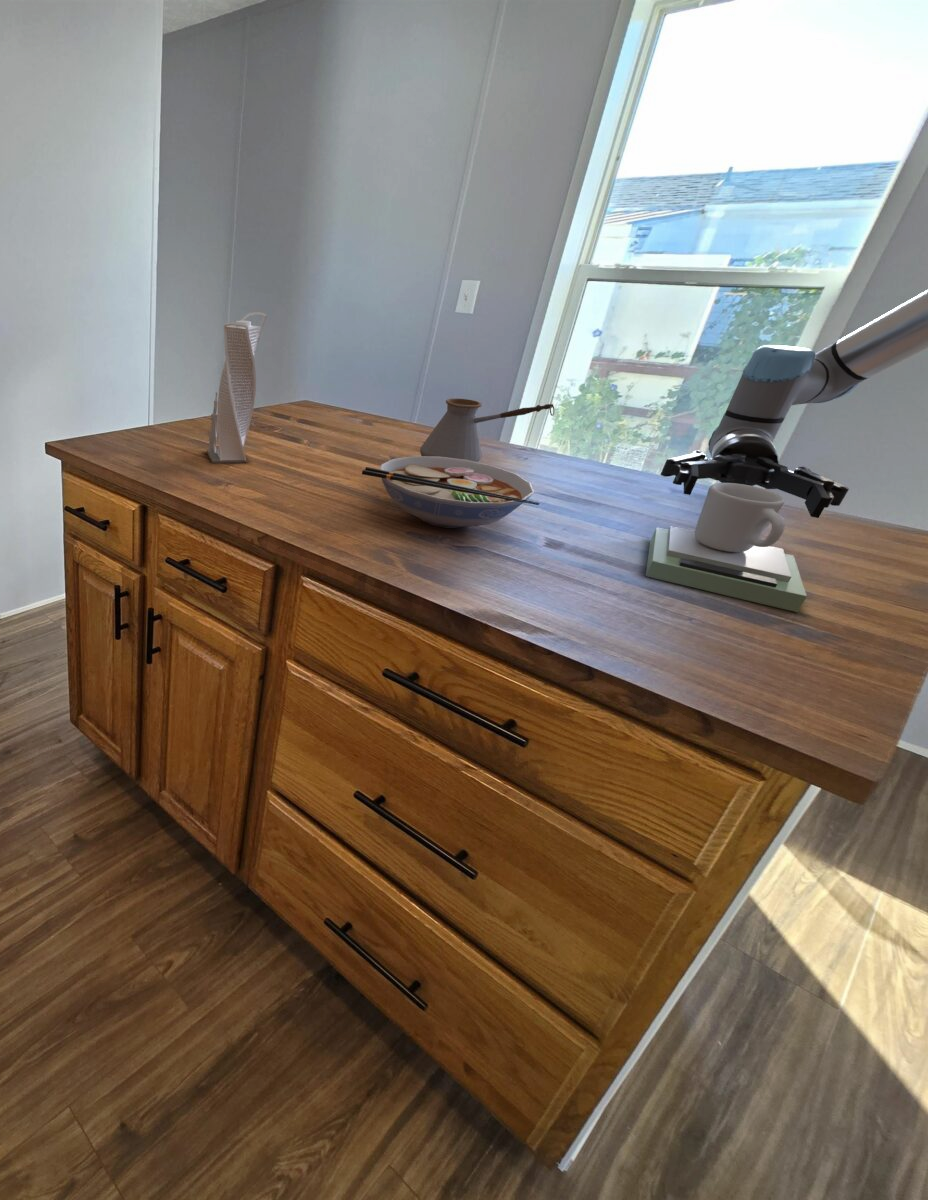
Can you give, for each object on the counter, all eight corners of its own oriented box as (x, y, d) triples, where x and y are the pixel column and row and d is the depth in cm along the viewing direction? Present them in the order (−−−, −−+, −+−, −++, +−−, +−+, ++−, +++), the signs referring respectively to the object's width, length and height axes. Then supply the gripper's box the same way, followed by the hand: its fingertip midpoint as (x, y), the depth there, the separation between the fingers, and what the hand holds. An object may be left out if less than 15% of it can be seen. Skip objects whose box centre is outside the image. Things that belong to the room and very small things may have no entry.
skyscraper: (245, 452, 140) (260, 309, 126) (254, 464, 133) (271, 314, 119) (206, 452, 139) (217, 309, 125) (213, 464, 132) (225, 314, 118)
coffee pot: (407, 465, 133) (425, 390, 125) (430, 454, 140) (448, 381, 133) (520, 492, 120) (547, 410, 113) (538, 478, 127) (565, 399, 120)
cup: (790, 567, 87) (822, 511, 83) (731, 566, 87) (761, 510, 83) (725, 534, 96) (751, 482, 92) (672, 533, 96) (696, 481, 92)
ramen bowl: (534, 515, 111) (550, 468, 107) (518, 564, 94) (536, 511, 90) (384, 485, 122) (393, 442, 118) (346, 524, 106) (355, 476, 102)
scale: (785, 570, 93) (796, 550, 92) (797, 612, 83) (810, 590, 81) (650, 541, 102) (658, 522, 100) (645, 576, 91) (654, 555, 90)
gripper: (836, 498, 99) (863, 545, 84) (639, 466, 112) (632, 501, 97) (864, 450, 96) (898, 489, 81) (657, 422, 108) (653, 451, 94)
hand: (753, 496), depth 89 cm, fingers open, 13 cm apart
